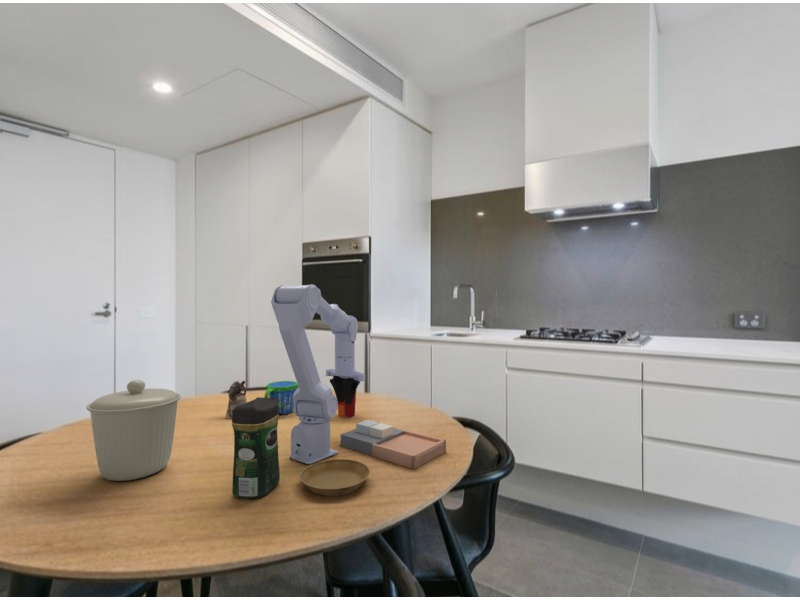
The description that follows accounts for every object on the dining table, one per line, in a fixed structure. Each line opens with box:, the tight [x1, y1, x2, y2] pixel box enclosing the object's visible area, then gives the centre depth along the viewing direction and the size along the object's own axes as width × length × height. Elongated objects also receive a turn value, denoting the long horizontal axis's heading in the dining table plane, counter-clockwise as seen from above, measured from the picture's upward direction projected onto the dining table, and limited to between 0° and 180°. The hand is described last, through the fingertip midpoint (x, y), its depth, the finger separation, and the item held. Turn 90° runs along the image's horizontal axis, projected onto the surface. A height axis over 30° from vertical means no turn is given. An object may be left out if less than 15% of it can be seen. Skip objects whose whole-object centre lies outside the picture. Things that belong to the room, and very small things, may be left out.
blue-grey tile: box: [355, 419, 380, 435], centre depth 111 cm, size 4×4×2 cm
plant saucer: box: [299, 458, 371, 497], centre depth 86 cm, size 15×15×3 cm
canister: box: [85, 379, 182, 482], centre depth 92 cm, size 18×18×21 cm
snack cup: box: [263, 380, 299, 415], centre depth 142 cm, size 16×10×10 cm
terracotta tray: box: [371, 429, 447, 470], centre depth 102 cm, size 14×13×3 cm
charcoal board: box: [340, 427, 405, 456], centre depth 110 cm, size 13×12×3 cm
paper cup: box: [337, 391, 357, 419], centre depth 138 cm, size 8×8×14 cm
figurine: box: [225, 380, 248, 419], centre depth 138 cm, size 7×7×12 cm
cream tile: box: [370, 422, 394, 439], centre depth 108 cm, size 4×4×2 cm
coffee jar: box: [231, 396, 281, 500], centre depth 83 cm, size 10×8×19 cm
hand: (345, 403), depth 117 cm, fingers open, 3 cm apart
